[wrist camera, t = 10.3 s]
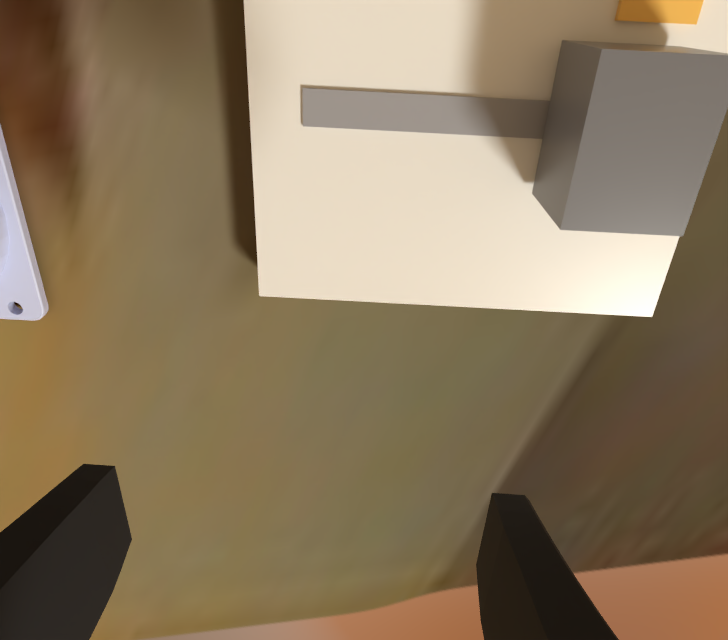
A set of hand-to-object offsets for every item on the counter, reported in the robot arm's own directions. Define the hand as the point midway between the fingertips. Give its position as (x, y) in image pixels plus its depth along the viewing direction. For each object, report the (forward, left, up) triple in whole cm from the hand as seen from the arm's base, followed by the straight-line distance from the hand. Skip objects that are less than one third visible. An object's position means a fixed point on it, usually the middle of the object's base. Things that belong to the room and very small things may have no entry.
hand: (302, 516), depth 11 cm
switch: (+7, +6, -9) cm, 13 cm away
